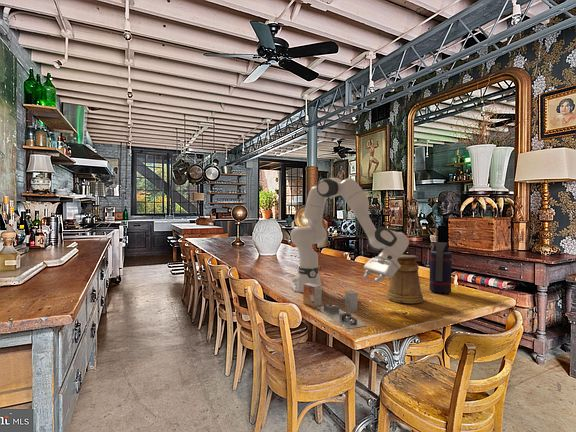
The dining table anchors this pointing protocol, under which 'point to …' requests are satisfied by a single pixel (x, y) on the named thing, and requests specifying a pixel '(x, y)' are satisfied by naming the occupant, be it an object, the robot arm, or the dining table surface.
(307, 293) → the small box
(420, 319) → the dining table surface
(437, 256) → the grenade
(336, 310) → the grey long flat board
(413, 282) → the tankard
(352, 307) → the mini drawer chest
